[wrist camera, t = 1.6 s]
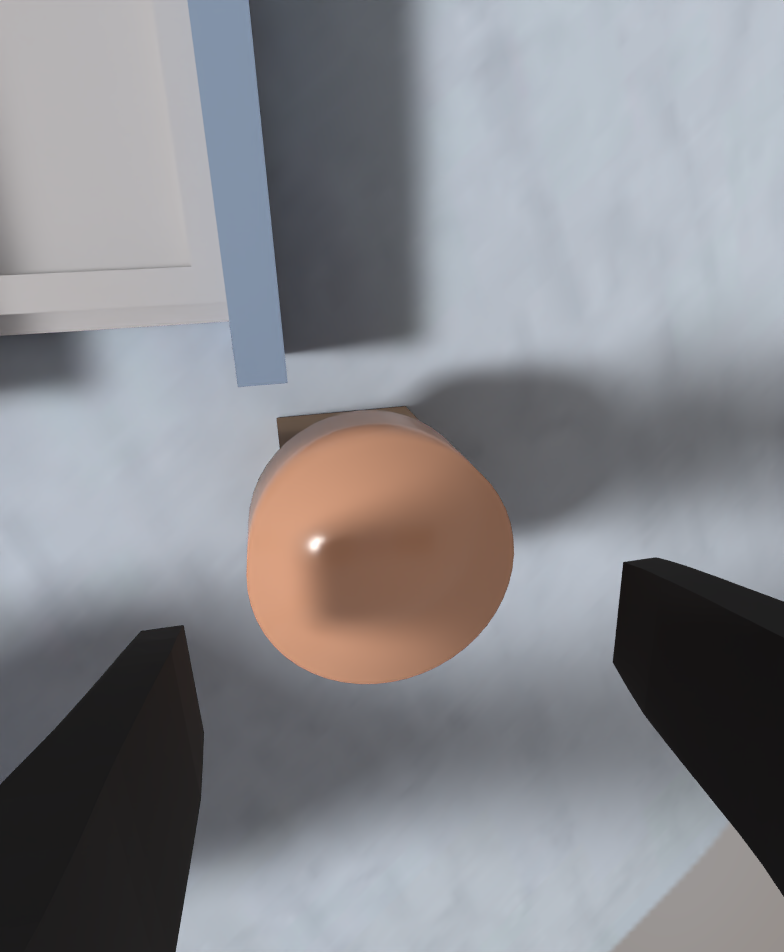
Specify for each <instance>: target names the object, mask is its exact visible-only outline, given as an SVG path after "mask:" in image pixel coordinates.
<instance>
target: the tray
mask: <svg viewBox="0 0 784 952" xmlns="http://www.w3.org/2000/svg"><path fill="white" fill-rule="evenodd" d="M213 322H229V323H230V330H231V338H232V345H233V353H234V361H235V368H236V376H237V384H238V387H244V386H256V385H269V384H281V383H288V382H287V373H286V363H285V353H284V343H283V333H282V323H281V314H280V304H279V294H278V284H277V274H276V264H275V255H274V245H273V235H272V225H271V215H270V205H269V196H268V186H267V176H266V166H265V156H264V146H263V137H262V127H261V117H260V107H259V97H258V87H257V78H256V68H255V58H254V48H253V38H252V29H251V19H250V9H249V0H0V336H5V335H21V334H37V333H53V332H69V331H85V330H101V329H117V328H133V327H149V326H165V325H181V324H197V323H213Z"/></svg>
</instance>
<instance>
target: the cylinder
mask: <svg viewBox="0 0 784 952" xmlns="http://www.w3.org/2000/svg"><path fill="white" fill-rule="evenodd" d="M513 557H514V544H513V534H512V528H511V523H510V520H509V517H508V514H507V511H506V509H505V507H504V505H503V503H502V501H501V499H500V497H499V495H498V494H497V492H496V491H495V490H494V488H493V487H492V485H491V484H490V483H489V482H488V481H487V480H486V478H485V477H484V476H483V475H482V474H481V473H480V472H479V471H478V470H477V469H476V468H475V467H474V466H473V465H472V464H471V463H470V462H469V461H468V460H467V459H466V458H465V457H464V456H463V455H462V454H461V453H460V452H459V451H458V450H457V449H456V448H455V447H454V446H453V445H452V444H451V443H450V442H449V441H448V440H447V439H446V438H445V437H443V436H442V435H441V434H440V433H438V432H437V431H436V430H434V429H433V428H431V427H430V426H428V425H426V424H424V423H423V422H421V421H419V420H416V419H414V418H411V417H409V416H406V415H402V414H398V413H394V412H388V411H379V410H362V411H353V412H347V413H342V414H339V415H335V416H332V417H328V418H326V419H324V420H321V421H319V422H317V423H314V424H312V425H311V426H309V427H307V428H306V429H304V430H302V431H301V432H299V433H298V434H296V435H295V436H294V437H293V438H291V439H290V440H289V441H287V442H286V443H285V444H284V445H283V446H282V447H281V448H280V449H279V450H278V451H277V452H276V453H275V455H274V456H273V457H272V459H271V460H270V461H269V463H268V464H267V465H266V467H265V469H264V470H263V472H262V474H261V476H260V478H259V479H258V482H257V485H256V487H255V490H254V492H253V496H252V500H251V504H250V509H249V521H248V547H247V588H248V594H249V599H250V603H251V607H252V610H253V612H254V615H255V617H256V620H257V622H258V624H259V625H260V627H261V629H262V631H263V632H264V634H265V635H266V637H267V638H268V639H269V640H270V642H271V643H272V644H273V645H274V647H276V648H277V649H278V650H279V651H280V652H281V653H282V654H283V655H284V656H285V657H286V658H288V659H289V660H291V661H292V662H294V663H295V664H296V665H298V666H300V667H301V668H303V669H305V670H307V671H309V672H311V673H313V674H316V675H319V676H322V677H324V678H327V679H331V680H336V681H340V682H346V683H355V684H378V683H387V682H394V681H398V680H402V679H407V678H410V677H413V676H416V675H419V674H422V673H424V672H426V671H429V670H431V669H433V668H435V667H437V666H439V665H441V664H442V663H444V662H446V661H447V660H449V659H451V658H452V657H454V656H455V655H456V654H458V653H459V652H460V651H462V650H463V649H464V648H466V647H467V646H468V645H469V644H470V643H471V642H472V641H473V640H474V639H475V638H476V637H477V636H478V635H479V634H480V633H481V632H482V630H483V629H484V628H485V627H486V626H487V625H488V623H489V622H490V620H491V619H492V617H493V616H494V614H495V613H496V611H497V609H498V607H499V605H500V604H501V602H502V600H503V598H504V595H505V592H506V590H507V587H508V584H509V581H510V576H511V572H512V567H513Z"/></svg>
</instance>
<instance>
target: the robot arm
mask: <svg viewBox="0 0 784 952" xmlns="http://www.w3.org/2000/svg"><path fill="white" fill-rule="evenodd" d="M613 664H614V665H615V667H616V669H617V670H618V672H619V674H620V676H621V677H622V679H623V681H624V683H625V684H626V686H627V688H628V690H629V691H630V693H631V694H632V696H633V698H634V699H635V701H636V702H637V704H638V706H639V707H640V709H641V710H642V712H643V714H644V715H645V716H646V718H647V719H648V720H649V721H650V723H651V724H652V725H653V727H654V728H655V729H656V731H657V732H658V733H659V734H660V736H661V737H662V738H663V739H664V741H665V742H666V743H667V744H668V746H669V747H670V748H671V750H672V751H673V752H674V753H675V755H676V756H677V757H678V758H679V760H680V761H681V762H682V763H683V765H684V766H685V767H686V768H687V770H688V771H689V772H690V773H691V775H692V776H693V777H694V778H695V779H696V781H697V782H698V783H699V784H700V786H701V787H702V788H703V789H704V791H705V792H706V793H707V794H708V796H709V797H710V798H711V799H712V801H713V802H714V803H715V804H716V806H717V807H718V808H719V809H720V811H721V812H722V813H723V814H724V816H725V817H726V818H727V819H728V820H729V822H730V823H731V824H732V825H733V827H734V828H735V829H736V830H737V831H738V833H739V834H740V835H741V836H742V838H743V839H744V841H745V842H746V843H747V845H748V846H749V847H750V849H751V850H752V851H753V853H754V854H755V856H757V858H758V859H759V861H760V862H761V864H763V866H764V868H765V869H766V871H767V872H768V874H769V875H770V877H771V878H772V880H773V881H774V883H775V884H776V886H777V887H778V889H779V890H780V891H781V893H782V895H783V896H784V602H783V601H780V600H778V599H775V598H772V597H770V596H767V595H764V594H761V593H759V592H756V591H753V590H751V589H748V588H745V587H743V586H740V585H737V584H735V583H732V582H729V581H727V580H724V579H721V578H718V577H716V576H713V575H710V574H707V573H705V572H702V571H699V570H696V569H693V568H690V567H687V566H684V565H681V564H678V563H675V562H672V561H668V560H664V559H660V558H649V559H642V560H635V561H628V562H623V570H622V580H621V589H620V599H619V608H618V618H617V627H616V637H615V646H614V656H613ZM203 744H204V731H203V725H202V720H201V715H200V710H199V704H198V699H197V694H196V688H195V683H194V678H193V673H192V667H191V662H190V657H189V651H188V646H187V641H186V636H185V630H184V625H181V626H174V627H167V628H160V629H153V630H146V631H141V632H140V633H139V634H138V635H137V636H136V637H135V638H134V640H133V641H132V642H131V643H130V644H129V645H128V646H127V647H126V649H125V650H124V651H123V652H122V653H121V654H120V655H119V657H118V658H117V659H116V660H115V661H114V662H113V664H112V665H111V666H110V667H109V668H108V669H107V671H106V672H105V673H104V674H103V675H102V676H101V678H100V679H99V680H98V681H97V682H96V683H95V684H94V686H93V687H92V688H91V689H90V690H89V691H88V693H87V694H86V695H85V696H84V697H83V698H82V699H81V700H80V702H79V703H78V704H77V705H76V706H75V707H74V708H73V709H72V710H71V712H70V713H69V714H68V715H67V716H66V717H65V718H64V719H63V720H62V721H61V723H60V724H59V725H58V726H57V727H56V728H55V729H54V730H53V731H52V732H51V733H50V734H49V735H48V736H47V737H46V739H45V740H44V741H43V742H42V743H41V744H40V745H39V746H38V747H37V748H36V749H35V750H34V751H33V752H32V753H31V754H30V755H29V756H28V757H27V758H26V759H25V760H24V761H23V762H22V763H21V764H20V765H19V766H18V767H17V768H16V769H15V770H14V771H13V772H12V773H11V774H10V775H9V776H8V777H7V778H6V779H5V780H4V781H3V782H2V783H1V784H0V952H176V946H177V940H178V934H179V928H180V922H181V916H182V910H183V904H184V898H185V892H186V886H187V881H188V875H189V869H190V863H191V857H192V851H193V844H194V838H195V832H196V826H197V820H198V814H199V807H200V801H201V787H202V769H203Z"/></svg>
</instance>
